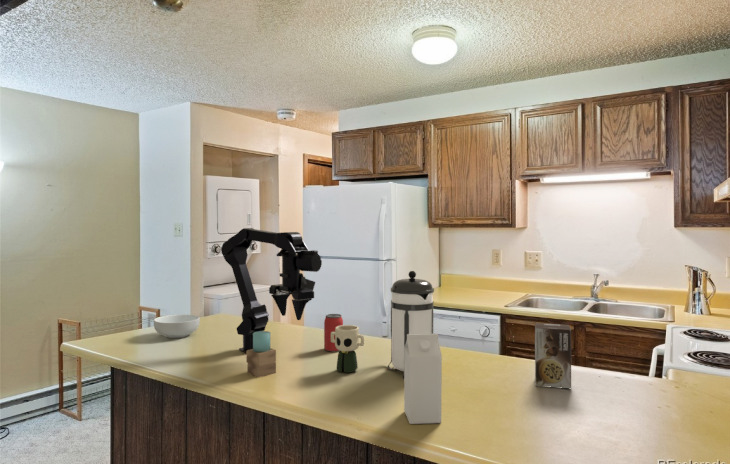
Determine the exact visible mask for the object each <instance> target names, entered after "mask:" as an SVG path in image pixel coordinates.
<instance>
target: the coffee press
mask: <svg viewBox="0 0 730 464" xmlns="http://www.w3.org/2000/svg"><path fill="white" fill-rule="evenodd" d="M407 274H408V277H409V278H402V279H398V280H396V281H394V282H393V284H392V286H391V287H390V292H391V300H390V337H391V340H390V341H391V344H390V345H391V347H390V348H391V349H390V350H391V351H390V352H391V354H390V356H391V357H390V358H391V360H390V362H389V364H388V365H387V369H388V370H390V371H391V370H393V369H394V368H395V369H396V370H398V371H401V372H404V348H405V344H406V341H407V334H434V300H433V299H434V298H433V296H434V293H435V288H433V285H432V283H431V282H430V281H428V280H426V279H422V278H421V279H420V278H416V276H417V273H416V272H415V270H410V271H409V272H408V273H407ZM391 364H392V366H393V367H390V365H391ZM402 379H403V380H404V373H403V374H402Z"/></svg>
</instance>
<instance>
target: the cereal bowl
mask: <svg viewBox="0 0 730 464" xmlns="http://www.w3.org/2000/svg"><path fill="white" fill-rule="evenodd" d="M200 321H201V318H200V316H199V315H196V314H169V315H168V314H167V315H162V316H159V317H156V318H154V319H153V329H154V330H155V331H156V332H157V334H159V335H162V336H164V337H166V338H167V339H181V338H186V337H187V336H189V335H190V334H192V333H194V332H196V331H197V330H198V328H199V327H200V323H201V322H200Z"/></svg>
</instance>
